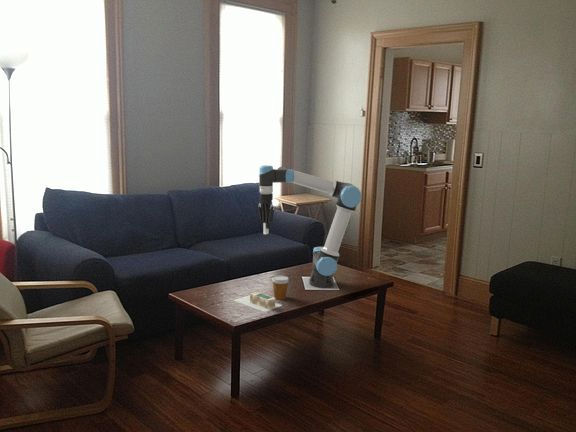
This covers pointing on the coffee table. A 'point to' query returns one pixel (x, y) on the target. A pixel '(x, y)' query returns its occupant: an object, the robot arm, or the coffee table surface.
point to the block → (262, 300)
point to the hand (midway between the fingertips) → (266, 233)
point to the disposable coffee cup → (280, 287)
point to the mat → (246, 301)
